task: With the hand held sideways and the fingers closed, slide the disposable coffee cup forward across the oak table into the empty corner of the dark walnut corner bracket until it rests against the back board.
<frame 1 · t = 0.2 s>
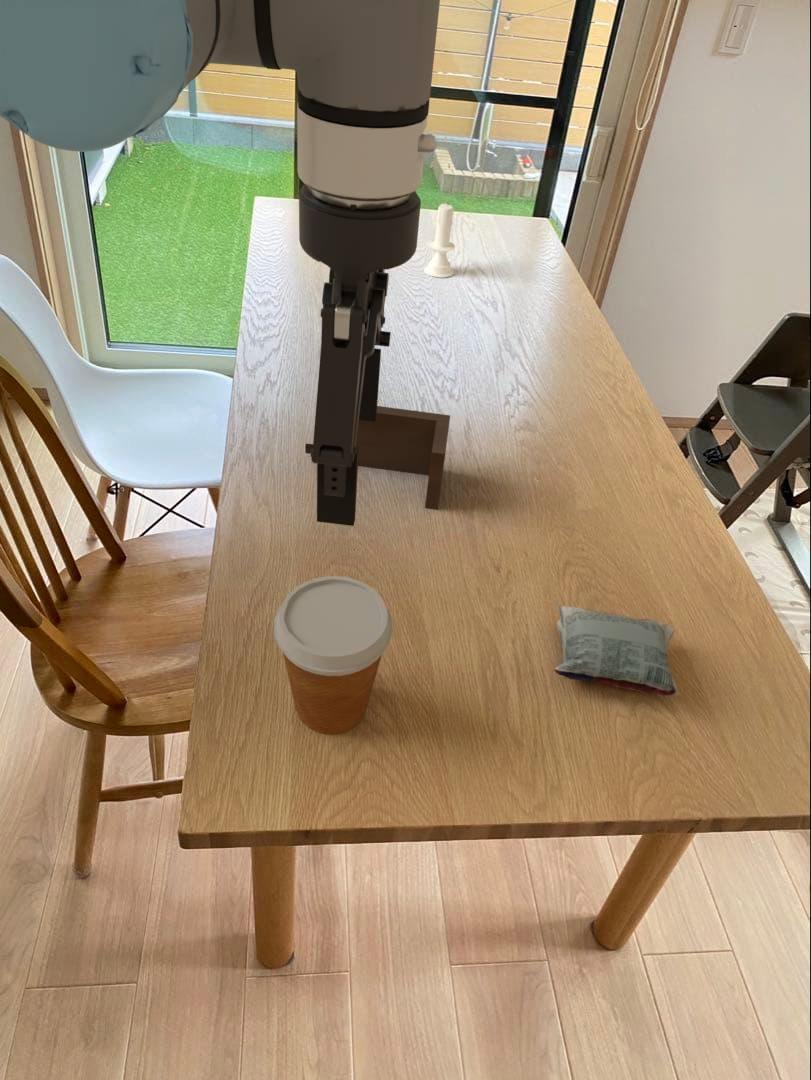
hand: (349, 465, 62), 21 cm above the table, tool pointing down, fingers open, 13 cm apart
packaged food: (608, 662, 76), on the table
disposable coffee cup: (331, 705, 70), on the table
candle: (438, 272, 140), on the table
corner: (378, 496, 92), on the table
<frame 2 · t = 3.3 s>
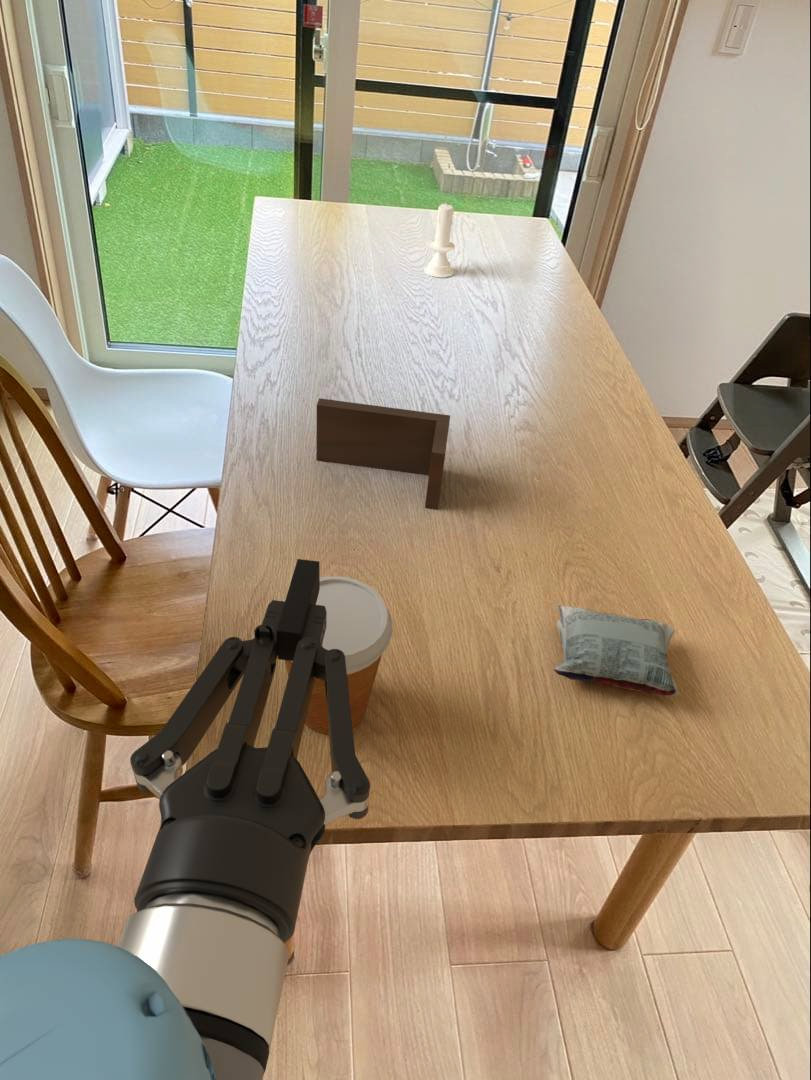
hand: (308, 574, 53), 20 cm above the table, tool horizontal, fingers closed
nothing on the table moved.
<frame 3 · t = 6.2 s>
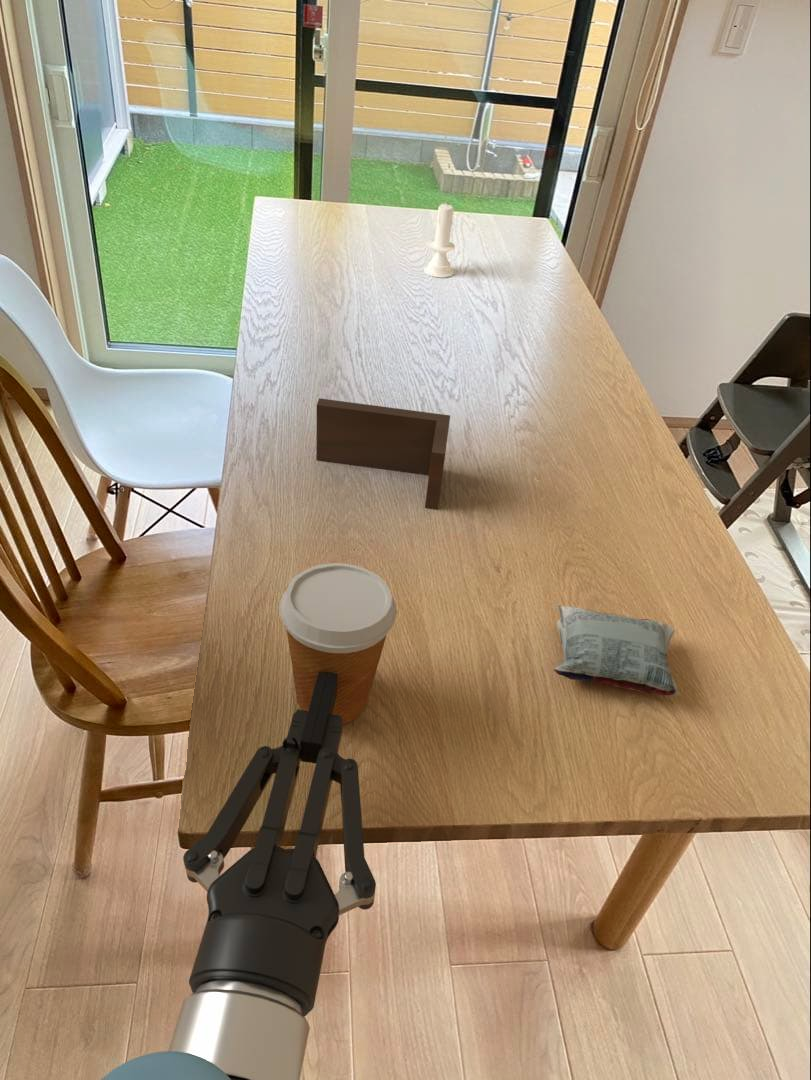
hand: (327, 683, 63), 7 cm above the table, tool horizontal, fingers closed
disposable coffee cup: (332, 699, 70), on the table, touching gripper
everything else where it was.
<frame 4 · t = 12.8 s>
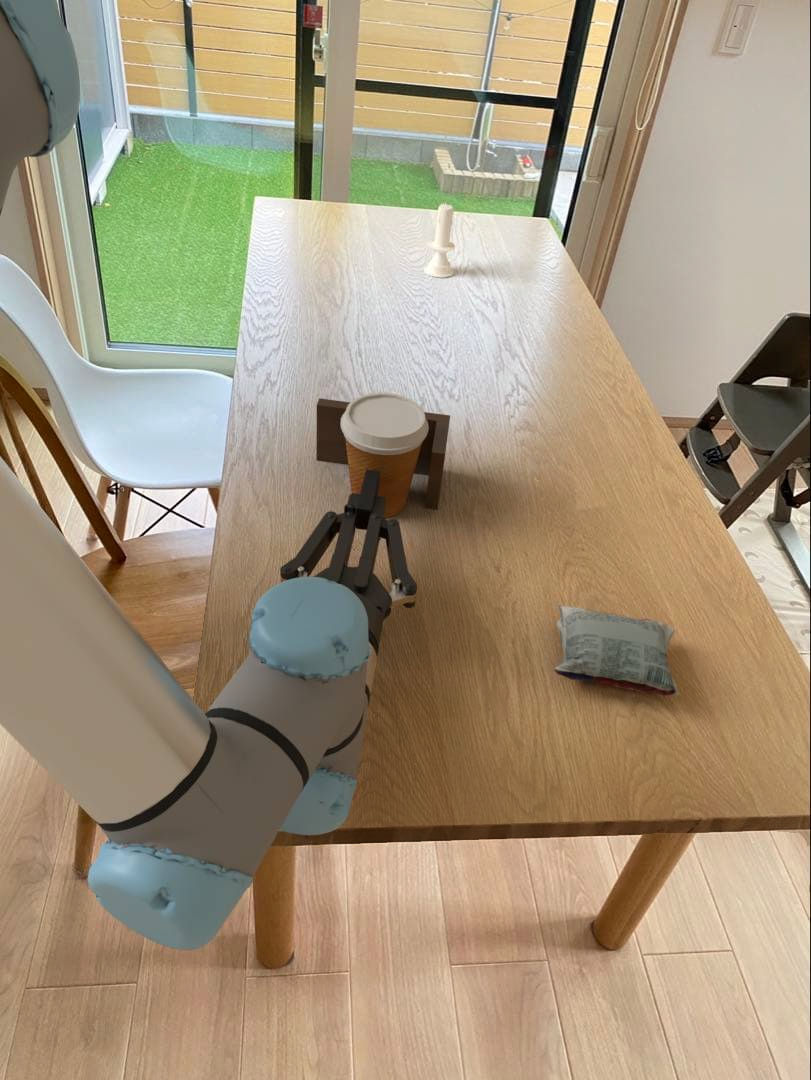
hand: (372, 480, 84), 6 cm above the table, tool horizontal, fingers closed
disposable coffee cup: (379, 501, 92), on the table
everything else where it was.
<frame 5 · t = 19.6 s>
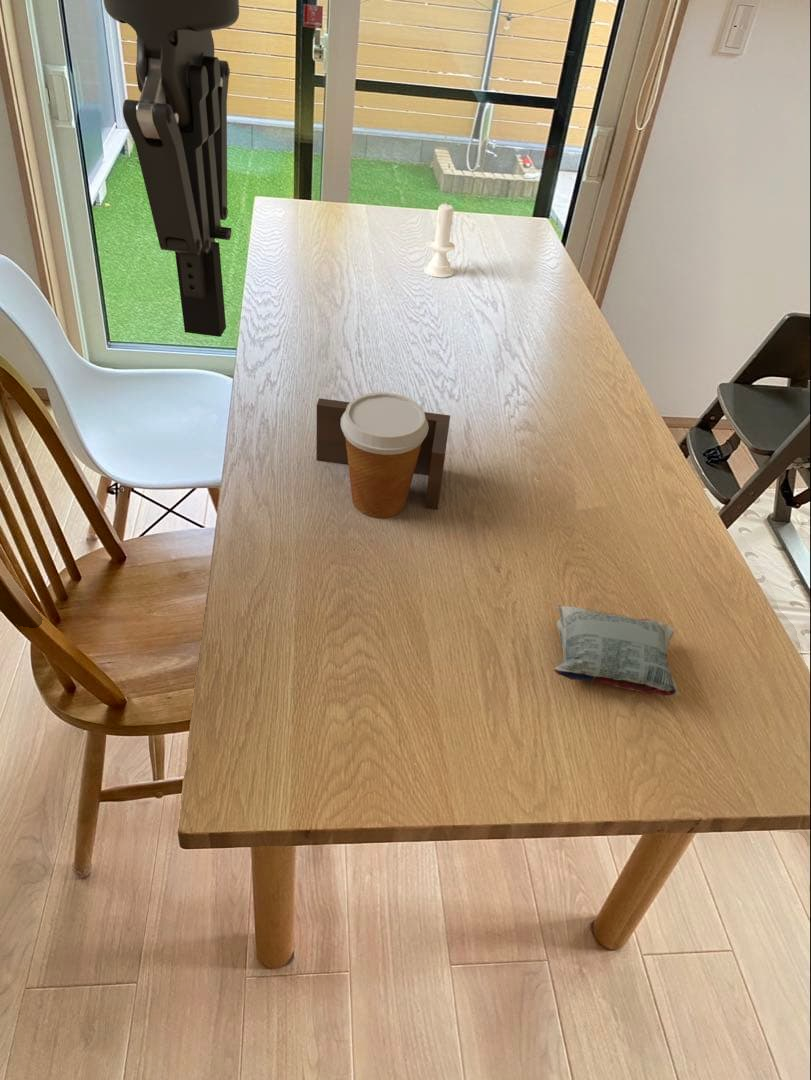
hand: (205, 329, 59), 29 cm above the table, tool pointing down, fingers closed
nothing on the table moved.
at the end: disposable coffee cup inside the target area on the corner (1.3 cm from its centre), point 0.0 cm above the corner's base; disposable coffee cup tilted 0° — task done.
